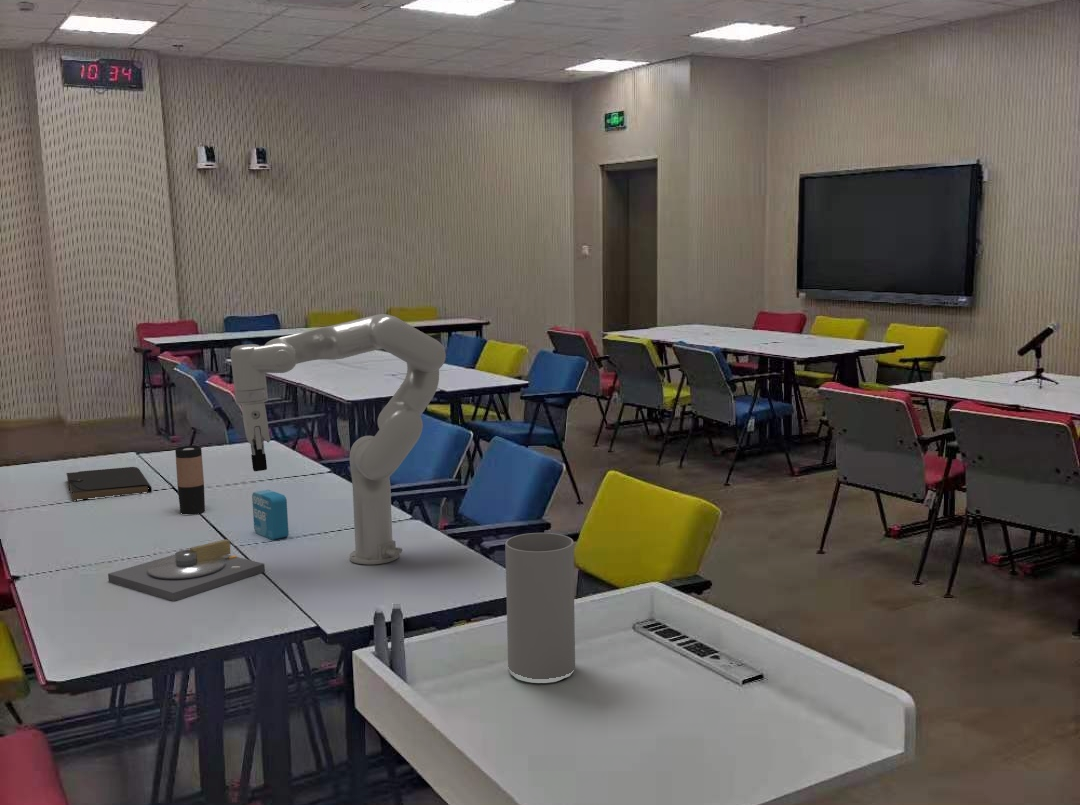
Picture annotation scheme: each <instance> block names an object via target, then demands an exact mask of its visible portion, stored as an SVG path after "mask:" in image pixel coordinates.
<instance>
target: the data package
mask: <svg viewBox="0 0 1080 805" xmlns="http://www.w3.org/2000/svg"><path fill="white" fill-rule="evenodd" d="M251 499H252V515H253V516H252V517H253V529H254V533H255V534H257V535H260V536H261V537H265V538H267V539H268V540H272V541H274V540H278V539H283V538H287V537H288V536H289V534H290V533H289V518H288V500H287V496H285V494H282V493H279V492H276V491H274V490H270V489H264V490H263V489H262V490H259V491H257V490H256V491H254V492H252V494H251Z"/></svg>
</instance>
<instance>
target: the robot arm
mask: <svg viewBox="0 0 1080 805" xmlns="http://www.w3.org/2000/svg"><path fill="white" fill-rule="evenodd" d="M381 349H382V350H384V351H386V352H387V353H389V354H391V355H393V357H395V358H397V359H399V360H401V361H403V362H405V363H406V367H407V368H406V374H405V377H404V379H403V381H402V382H401V385H400V386H399V388H398V389H397V391H396V392H394V394H393V396H392V397H391V398H390V399H389V401H388V403H387V404H386V405H385V406H384V407H383V408H382V409H381V411H380V413H379V414H378V417H377V427H378V429H379V430H378V431H377V432H376V434H375V435H364V436H361V437H359V438H358V439H357V440H355V442H353V444H352V446H351V447H350V450H349V465H350V475H351V476H350V477H351V481H352V482H351V486H352V503H353V523H354V524H353V525H354V526H353V527H354V529H353V530H354V546H355V549H354V551H351V552H350V553H349V560H350V561H351V562H352V563H354V564H359V565H381V564H388V563H390V562H393V561H396V560H397V559H398V558H399V557H400V554H402V553H403V549H402V548H401V547H397V546H396V540H393V522H392V520H393V519H392V517H393V516H392V499H391V498H392V491H391V489H392V488H391V481H390V480H391V478H390V476H392V475H393V474H394V473H395V472H396V471H397V470H398V468H399V467H400V465H402V463H403V462H404V460H405V459H406V457H408V454H410V452H411V451H412V449H413V448H414V447H415V445H416V444H417V442H418V441H419V440H420V438H421V436H422V435H421V434H422V433H423V428H424V425H423V424H424V423H423V420H422V419H423V418H422V417H421V416H422V415H423V413H424V412H425V410H426V408H427V407H428V406H429V404H430V402H431V401H432V400H433V398H434V396H435V395H436V392H437V390H438V387H439V382H440V381H439V380H440V369H441V368H442V367H443V366H444V363H445V362H446V359H447V358H446V356H447V355H446V350H445V347H444V345H443V344H442V343H441V342H440V341H438V340H437V339H435V338H434V337H432V336H429V335H428V334H427V333H424V332H423V331H420V330H419V329H418V328H415V327H414V326H412V325H410V324H408V323H407V322H406V321H403V320H402V319H400V318H398V317H397V316H394V315H391V314H387V313H386V314H385V313H382V314H381V313H380V314H375V315H370V316H367V317H361V318H358V319H354V320H353V319H352V320H349V321H345V322H340V323H337V324H332V325H328V326H324V327H319V328H316V329H312V330H307V331H306V330H305V331H302V332H298V333H294V334H289V335H285V336H281V337H277V338H276V337H275V338H273V339H271V340H269V341H267V342H266V343H265V344H264V345H259V344H253V343H252V344H251V343H250V344H240V345H235V346H232V348H231V349H230V353H229V354H230V362H231V370H232V371H231V372H232V379H233V386H234V388H233V389H234V395H235V396H234V397H235V398H234V399H235V403H236V404H235V405H241V413H242V420H243V426H244V432H245V437H246V440H247V442H248V443H249V444H250V449H251V450H250V451H251V455H250V456H251V463H252V464H251V465H252V470H253V471H254V472H261V471H266V470H268V466H267V457H266V453H265V452H266V451H265V443H264V441H265V442H266V443H270V442H271V437H270V429H269V422H268V416H267V409H266V404H265V402H268V401H269V396H268V384H267V378H266V374H283V373H284V374H285V373H288V372H290V371H292V370H293V369H294V368H295V367H296V365H297V364H302V363H306V362H311V361H317V360H329V361H330V360H333V361H335V360H342V359H346V358H350V357H353V356H358V355H362V354H365V353H370V352H374V351H377V350H381Z"/></svg>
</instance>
